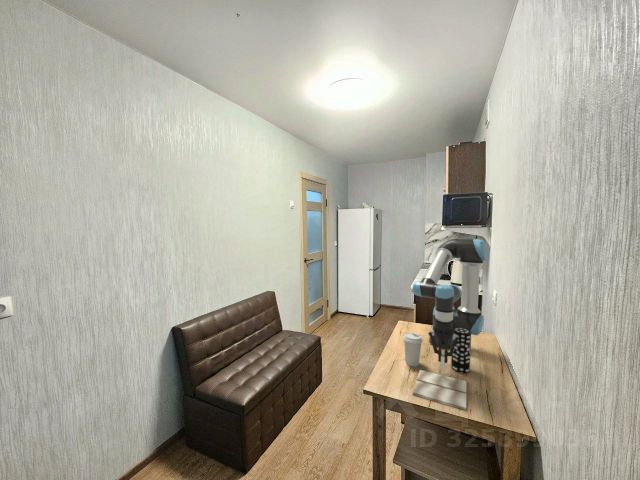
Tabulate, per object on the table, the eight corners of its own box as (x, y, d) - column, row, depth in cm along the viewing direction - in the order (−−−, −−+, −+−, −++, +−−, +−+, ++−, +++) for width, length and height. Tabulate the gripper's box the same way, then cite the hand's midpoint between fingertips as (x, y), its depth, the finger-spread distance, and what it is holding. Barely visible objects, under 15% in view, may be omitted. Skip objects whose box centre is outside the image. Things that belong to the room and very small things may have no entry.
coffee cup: (423, 369, 135) (424, 340, 134) (403, 367, 137) (404, 338, 136) (420, 360, 144) (421, 332, 144) (401, 358, 146) (402, 331, 145)
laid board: (466, 395, 114) (466, 393, 114) (466, 410, 105) (466, 407, 105) (416, 382, 123) (416, 379, 123) (412, 394, 114) (412, 392, 114)
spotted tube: (452, 372, 133) (453, 332, 132) (450, 364, 141) (451, 326, 140) (471, 375, 130) (472, 334, 129) (468, 367, 138) (469, 328, 137)
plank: (466, 383, 122) (466, 381, 122) (466, 395, 114) (466, 392, 114) (419, 372, 132) (419, 369, 132) (416, 381, 124) (416, 379, 124)
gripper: (460, 319, 124) (458, 368, 125) (429, 314, 130) (428, 361, 132) (459, 324, 117) (458, 376, 119) (427, 319, 124) (426, 369, 125)
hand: (442, 368), depth 125 cm, fingers closed
